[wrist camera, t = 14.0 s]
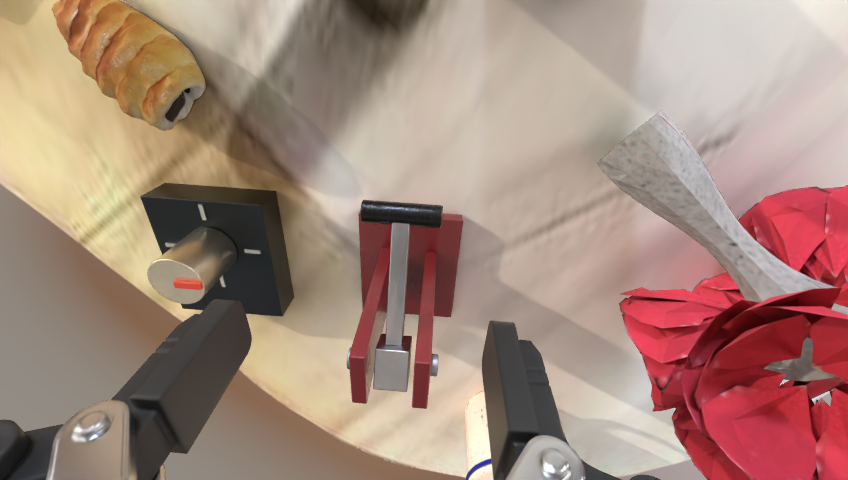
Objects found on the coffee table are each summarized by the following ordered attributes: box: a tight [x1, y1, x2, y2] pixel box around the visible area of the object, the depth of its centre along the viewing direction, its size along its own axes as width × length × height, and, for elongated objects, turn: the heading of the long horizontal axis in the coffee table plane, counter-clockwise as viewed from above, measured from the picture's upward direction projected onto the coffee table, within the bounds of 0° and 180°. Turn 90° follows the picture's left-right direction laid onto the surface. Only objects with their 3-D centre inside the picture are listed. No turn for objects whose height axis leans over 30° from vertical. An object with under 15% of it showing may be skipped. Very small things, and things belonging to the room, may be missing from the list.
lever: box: [360, 200, 443, 392], centre depth 23 cm, size 12×5×2 cm, turn 177°
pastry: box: [52, 0, 205, 131], centre depth 25 cm, size 9×7×4 cm
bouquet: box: [597, 110, 848, 480], centre depth 22 cm, size 22×24×30 cm
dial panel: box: [140, 183, 294, 316], centre depth 33 cm, size 12×10×3 cm
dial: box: [147, 227, 237, 304], centre depth 29 cm, size 4×4×5 cm
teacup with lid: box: [465, 391, 564, 480], centre depth 39 cm, size 12×9×12 cm
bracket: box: [347, 210, 463, 409], centre depth 28 cm, size 11×9×14 cm
